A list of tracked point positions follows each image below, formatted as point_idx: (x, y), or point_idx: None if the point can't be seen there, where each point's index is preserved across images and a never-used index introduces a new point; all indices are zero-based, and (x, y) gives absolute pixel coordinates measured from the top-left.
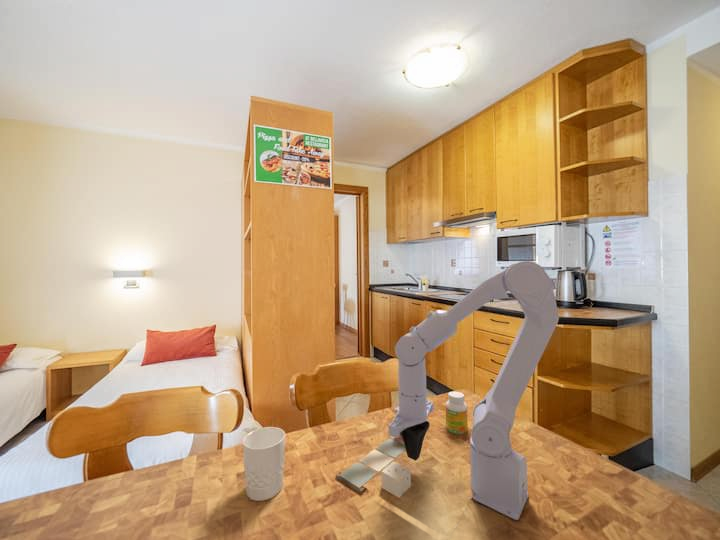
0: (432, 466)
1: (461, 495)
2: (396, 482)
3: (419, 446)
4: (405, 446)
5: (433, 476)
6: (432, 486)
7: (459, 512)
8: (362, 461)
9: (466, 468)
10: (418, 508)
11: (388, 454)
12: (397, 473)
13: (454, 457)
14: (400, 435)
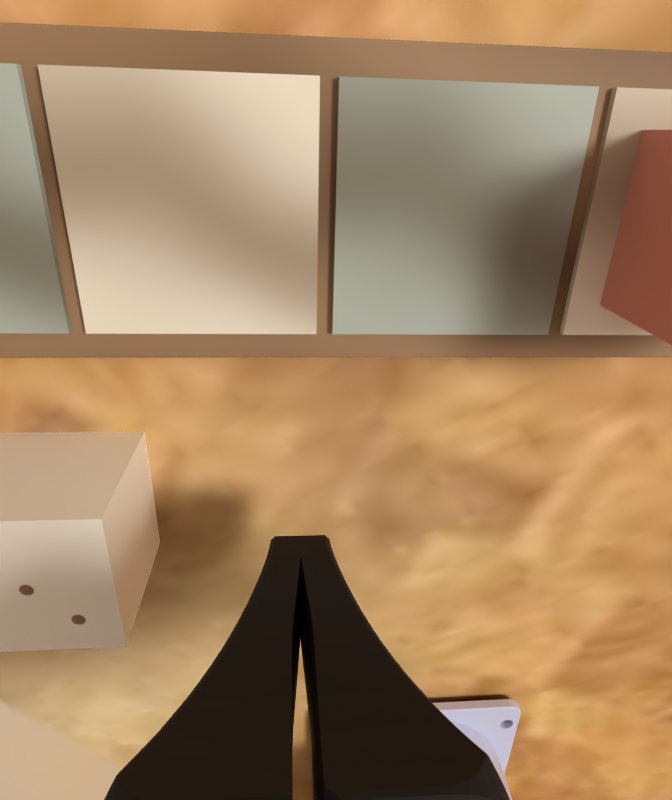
0: (443, 530)
1: None
2: None
3: (309, 704)
4: (253, 597)
5: (357, 571)
6: None
7: None
8: (66, 114)
9: (530, 650)
10: None
11: (338, 258)
12: (7, 614)
13: (603, 578)
14: (650, 215)
